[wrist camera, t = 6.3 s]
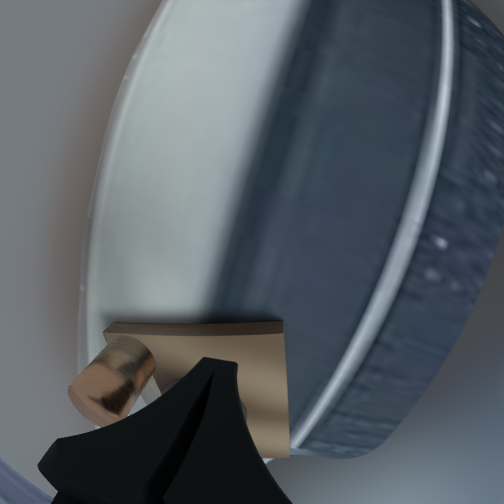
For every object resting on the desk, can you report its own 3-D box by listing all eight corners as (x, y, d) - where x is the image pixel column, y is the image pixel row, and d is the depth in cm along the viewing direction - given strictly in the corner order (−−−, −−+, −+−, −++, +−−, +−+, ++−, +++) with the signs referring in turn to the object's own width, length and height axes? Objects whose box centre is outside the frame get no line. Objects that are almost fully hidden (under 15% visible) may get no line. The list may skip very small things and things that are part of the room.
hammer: (210, 462, 14) (197, 512, 10) (176, 459, 14) (159, 505, 10) (148, 329, 11) (102, 387, 7) (107, 331, 11) (58, 380, 8)
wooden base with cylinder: (289, 444, 20) (288, 495, 14) (161, 437, 21) (142, 479, 16) (283, 320, 16) (282, 379, 11) (113, 322, 18) (70, 363, 13)
